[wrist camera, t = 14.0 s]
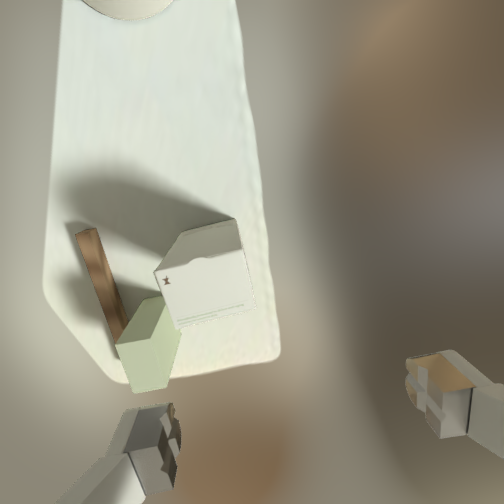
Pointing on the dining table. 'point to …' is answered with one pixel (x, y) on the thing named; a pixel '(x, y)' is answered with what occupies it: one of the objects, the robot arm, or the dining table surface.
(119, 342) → the sage tea box
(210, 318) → the skincare box
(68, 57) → the dining table surface
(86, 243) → the rail
